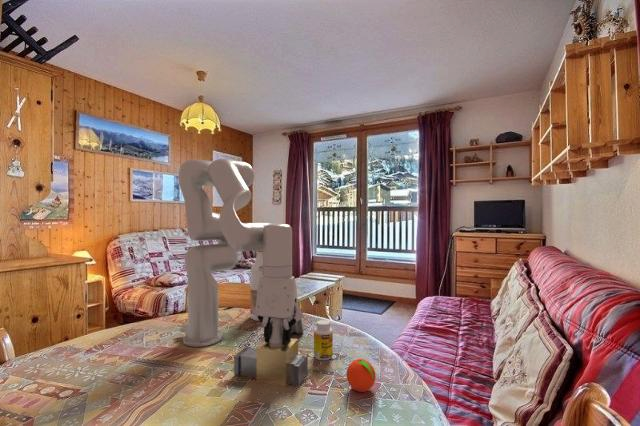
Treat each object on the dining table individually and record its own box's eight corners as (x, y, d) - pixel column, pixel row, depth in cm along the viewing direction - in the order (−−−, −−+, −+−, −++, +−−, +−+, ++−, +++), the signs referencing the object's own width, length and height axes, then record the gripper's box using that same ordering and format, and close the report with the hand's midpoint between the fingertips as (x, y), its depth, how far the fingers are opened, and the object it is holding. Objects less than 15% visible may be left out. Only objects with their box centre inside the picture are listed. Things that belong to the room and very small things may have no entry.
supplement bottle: (320, 363, 88) (320, 326, 88) (310, 355, 93) (310, 321, 93) (336, 358, 91) (336, 323, 91) (325, 351, 96) (325, 317, 96)
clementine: (385, 394, 73) (385, 363, 73) (362, 404, 69) (362, 372, 69) (362, 378, 79) (362, 351, 79) (340, 387, 76) (340, 357, 76)
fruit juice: (247, 315, 129) (247, 248, 129) (269, 312, 133) (269, 246, 133) (254, 322, 120) (253, 250, 121) (277, 319, 125) (277, 249, 125)
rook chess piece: (269, 342, 83) (269, 312, 83) (286, 341, 83) (286, 312, 83) (267, 349, 78) (267, 318, 78) (285, 349, 79) (285, 317, 79)
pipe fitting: (304, 326, 115) (301, 299, 114) (304, 337, 107) (300, 308, 106) (272, 330, 115) (268, 303, 114) (269, 341, 107) (265, 312, 106)
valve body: (232, 377, 80) (232, 344, 80) (248, 362, 88) (248, 332, 88) (297, 388, 75) (297, 353, 75) (308, 372, 83) (308, 340, 83)
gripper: (241, 272, 80) (241, 343, 80) (302, 276, 75) (302, 352, 75) (256, 267, 87) (255, 332, 87) (313, 270, 82) (312, 340, 82)
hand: (277, 341), depth 81 cm, fingers closed on rook chess piece, 4 cm apart
